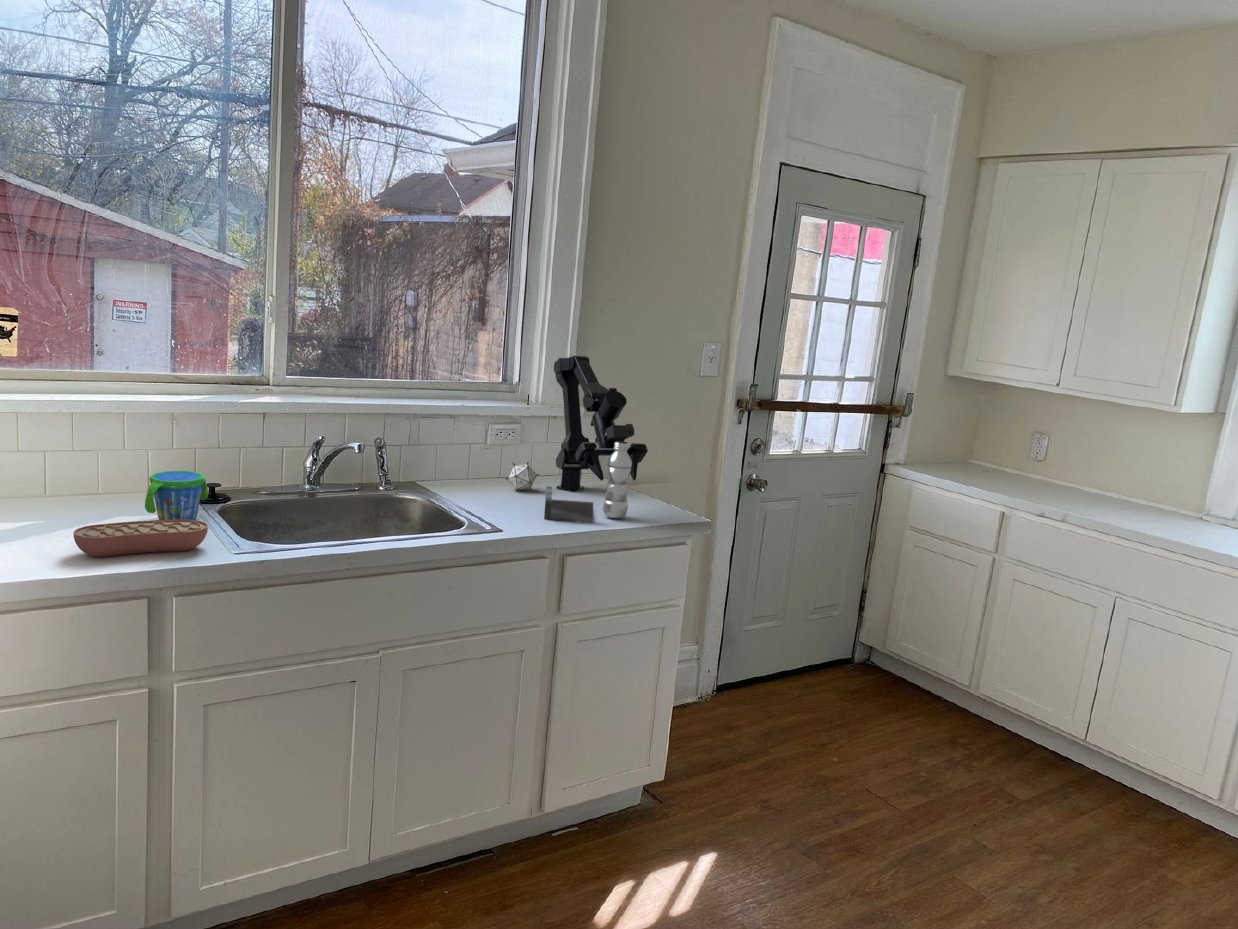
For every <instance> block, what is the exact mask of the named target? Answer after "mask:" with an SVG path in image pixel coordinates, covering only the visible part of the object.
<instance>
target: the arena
mask: <svg viewBox="0 0 1238 929" xmlns="http://www.w3.org/2000/svg"><path fill="white" fill-rule="evenodd" d="M545 489H546V490H545V501H544V515H543V516H544V517H543V519H544V520H545V519H547V521H548V520H550V521H559V522H560V521H561V522H573V521H580V522H579V523H587V522H589V523H588V524H590V523H592V520H593V511H594V510H593V509H594V502H592V501H581V500H569V499H568V500H567V499H566V500H565V499H552V496H553V486H546V488H545Z"/></svg>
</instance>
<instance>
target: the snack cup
mask: <svg viewBox="0 0 1238 929" xmlns="http://www.w3.org/2000/svg"><path fill="white" fill-rule="evenodd" d="M149 483H150V485H149V487H148V488H147V492H146V495H145V496H146V497H145V501H144V508H145V510H146V512H147V513H149V514H155V513H156V514H157V518H158V519H157V520H197V518H198V513H199V507H200V500H203V501H205V500H207V498H208V496H209V493H208V485H207V481H206V479H205V475H204V474H202V473H200V472H196V471H190V470H168V471H167V470H166V471H165V470H164V471H159V472H155V473H152V474H150V477H149Z"/></svg>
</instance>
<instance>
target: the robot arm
mask: <svg viewBox="0 0 1238 929" xmlns="http://www.w3.org/2000/svg"><path fill="white" fill-rule="evenodd" d="M590 361H591V360H590V358H589V356H587V355H573V356H569V357H558V359H557V360H556V361H554V364H553V373H554V374H555V380H556V382H557V383H558V384H559V386H560V387H561V388H562V400H563V402H562V403H563V414H564V426H565V427H564V428H565V437H564V439H563V440H562V442H561V445H560V450H559V453H558V454H557V457H556V458H555V468H558V469H560V470H561V478H560V484H559V485H557V486H556V489H558V490H565V491H569V492H571V491H572V492H579V491H581V490H584V489H585V486H583V485H581V481H582V470H587V471H588V469H589V470H590V471H591V472H592V473H593V474H595V476H596V477H597V478H598V479H599V481H601V482H602V481H604V478H605V477H604V472H603V470H602V465H601V462H600V457H599V456H604V457H610V456H611V454H612V453H613V452H614V451H615V449H614V443H615V441H623V442H626V441H625V440H627V439H629V438H631V437H633V436H635V428H634V425H633V424H632V423H626V424H625V425H624V424H623V425H619V424H617V425H616V423H615V420H618V419H619V417H620V415H621V413H622V412H623V410H624V408H626V405H627V402H628V400H627V397H626V396H625V395H624V394H623V393H622V392H619V391H618V390H617V388H615V387H609V388H607V387H606V386H603V385H601V384H600V382H599V380H598V378H597V376H596V374H595V371H594V369H593V368H592V366H591V363H590ZM579 385H580V387H581V389H582V391H583V394H584V395H583V397H582V405H583V407H584V410H585V411H586V412H588V413H593V415H592V416H591V421H590V423H589V426H590V427H593V429H594V433H595V436H596V437H595V439H594V442H590V440H589V438H588V437H585V435H584V434H583V429H582V415H581V414H582V413H581V405H580V403H581V401H580V391H579V390H580V389H579ZM596 443H597V444H598V447H597V444H596ZM648 452H649V451H648V446H647V444H645V443H641V442H640V443H639V442H637V443H636V442H634V443H633V442H632V443H631V444H630V446H628V450H627V453H628V455H629V456H630V458H631V461H632V467H631V471H630V477H631V478H632V481H636V480H637V474H638V467H639V466H638V465H639V464H640V463H641V462H642V461H643V460H644V458H645V457H646V455H647V453H648Z"/></svg>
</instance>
